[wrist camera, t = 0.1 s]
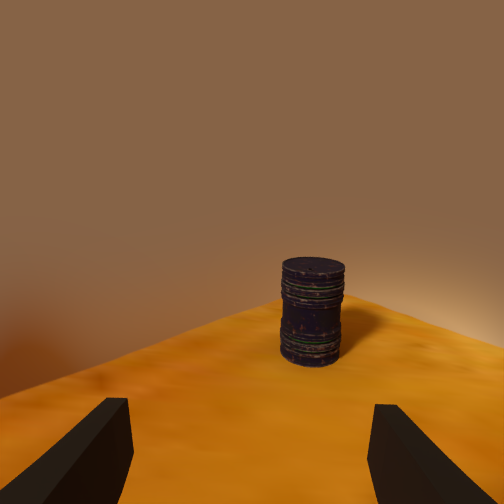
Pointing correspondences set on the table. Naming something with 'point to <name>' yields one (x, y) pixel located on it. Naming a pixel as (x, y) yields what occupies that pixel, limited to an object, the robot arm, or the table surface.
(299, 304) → the storage jar
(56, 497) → the robot arm
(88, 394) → the table surface
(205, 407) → the table surface
